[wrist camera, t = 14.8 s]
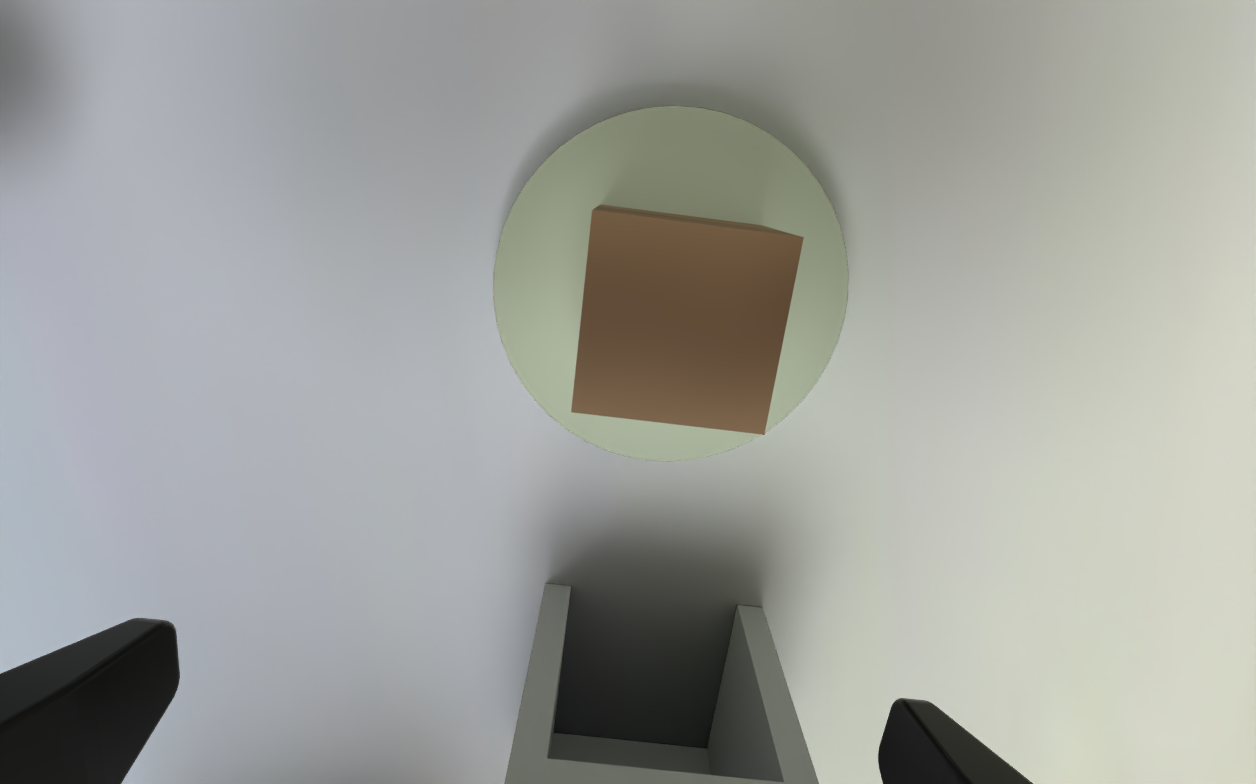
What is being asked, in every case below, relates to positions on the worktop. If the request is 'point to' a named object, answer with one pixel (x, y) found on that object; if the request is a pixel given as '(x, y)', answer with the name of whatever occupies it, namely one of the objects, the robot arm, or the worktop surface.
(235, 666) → the worktop surface
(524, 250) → the dish
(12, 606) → the worktop surface
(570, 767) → the cover
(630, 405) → the block
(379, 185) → the worktop surface
